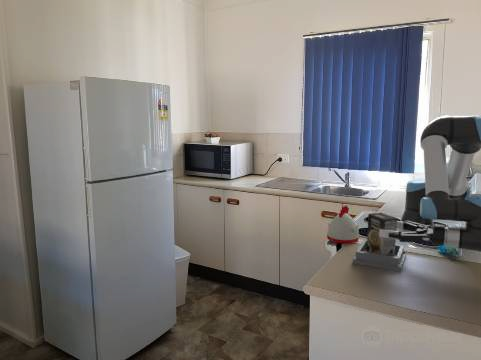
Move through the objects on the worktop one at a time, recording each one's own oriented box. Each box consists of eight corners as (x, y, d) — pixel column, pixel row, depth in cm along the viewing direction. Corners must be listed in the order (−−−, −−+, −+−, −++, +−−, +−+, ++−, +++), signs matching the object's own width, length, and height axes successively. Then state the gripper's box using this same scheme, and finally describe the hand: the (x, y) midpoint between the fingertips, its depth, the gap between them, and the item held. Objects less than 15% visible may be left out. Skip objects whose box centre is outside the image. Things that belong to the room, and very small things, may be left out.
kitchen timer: (363, 237, 176) (365, 205, 174) (350, 245, 166) (351, 212, 164) (336, 231, 185) (337, 201, 183) (321, 239, 175) (322, 206, 173)
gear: (435, 243, 163) (456, 230, 158) (445, 253, 162) (466, 240, 158) (437, 256, 153) (459, 242, 148) (448, 267, 153) (470, 253, 148)
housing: (361, 249, 162) (362, 238, 161) (405, 256, 154) (406, 245, 153) (352, 263, 147) (353, 252, 146) (400, 271, 139) (401, 259, 138)
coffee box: (365, 253, 153) (367, 213, 150) (378, 250, 155) (380, 211, 153) (381, 261, 145) (384, 219, 142) (395, 258, 147) (397, 217, 144)
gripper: (443, 257, 128) (376, 247, 138) (445, 236, 149) (387, 228, 159) (445, 235, 126) (377, 227, 136) (446, 217, 148) (388, 210, 158)
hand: (382, 227), depth 148 cm, fingers open, 13 cm apart
